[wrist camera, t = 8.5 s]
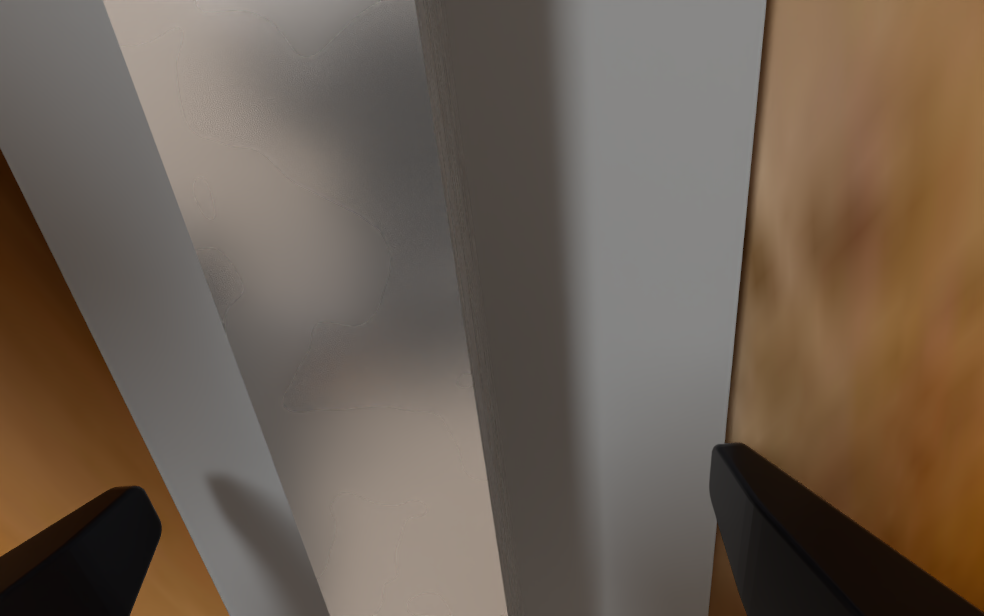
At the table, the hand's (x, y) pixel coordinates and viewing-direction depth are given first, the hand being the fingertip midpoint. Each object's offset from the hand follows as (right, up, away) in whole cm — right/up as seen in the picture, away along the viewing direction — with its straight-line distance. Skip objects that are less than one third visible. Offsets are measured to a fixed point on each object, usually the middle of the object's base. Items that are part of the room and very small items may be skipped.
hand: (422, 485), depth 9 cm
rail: (0, +1, +1) cm, 1 cm away
